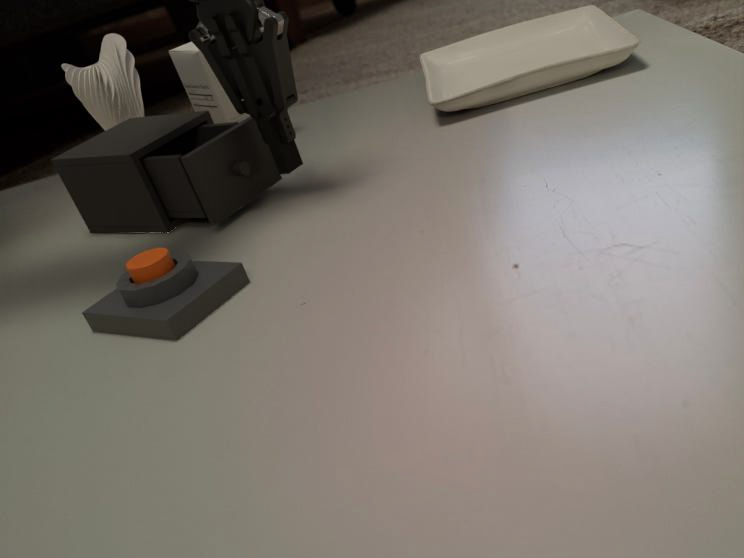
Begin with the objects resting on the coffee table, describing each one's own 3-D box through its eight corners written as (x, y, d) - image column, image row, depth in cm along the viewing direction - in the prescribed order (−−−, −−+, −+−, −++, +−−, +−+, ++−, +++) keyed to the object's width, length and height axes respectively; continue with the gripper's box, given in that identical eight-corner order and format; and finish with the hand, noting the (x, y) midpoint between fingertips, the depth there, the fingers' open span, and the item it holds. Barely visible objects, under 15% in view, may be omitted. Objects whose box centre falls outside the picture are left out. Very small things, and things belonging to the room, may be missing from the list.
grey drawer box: (240, 185, 107) (208, 110, 101) (168, 233, 98) (129, 154, 93) (163, 187, 114) (129, 118, 109) (90, 232, 106) (50, 159, 100)
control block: (250, 282, 80) (234, 245, 78) (177, 341, 74) (156, 302, 72) (167, 277, 87) (150, 243, 85) (92, 332, 80) (71, 296, 78)
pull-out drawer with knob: (289, 178, 101) (265, 114, 97) (225, 224, 93) (195, 156, 89) (205, 181, 108) (178, 122, 104) (138, 224, 101) (107, 162, 96)
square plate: (424, 76, 129) (417, 51, 127) (597, 27, 128) (593, 0, 126) (435, 128, 106) (427, 98, 104) (646, 68, 105) (642, 37, 103)
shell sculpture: (106, 175, 127) (44, 55, 117) (133, 154, 133) (77, 39, 124) (153, 166, 125) (94, 43, 115) (178, 145, 131) (124, 27, 122)
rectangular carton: (262, 128, 127) (221, 27, 119) (293, 132, 121) (253, 26, 113) (211, 153, 123) (165, 49, 115) (241, 158, 116) (195, 49, 108)
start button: (184, 264, 79) (176, 247, 78) (153, 286, 76) (144, 269, 75) (156, 262, 81) (148, 246, 80) (125, 284, 78) (116, 268, 77)
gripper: (278, -69, 84) (353, 153, 97) (189, -48, 91) (271, 157, 104) (228, -50, 79) (314, 181, 92) (138, -29, 86) (230, 184, 99)
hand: (291, 168), depth 98 cm, fingers closed
